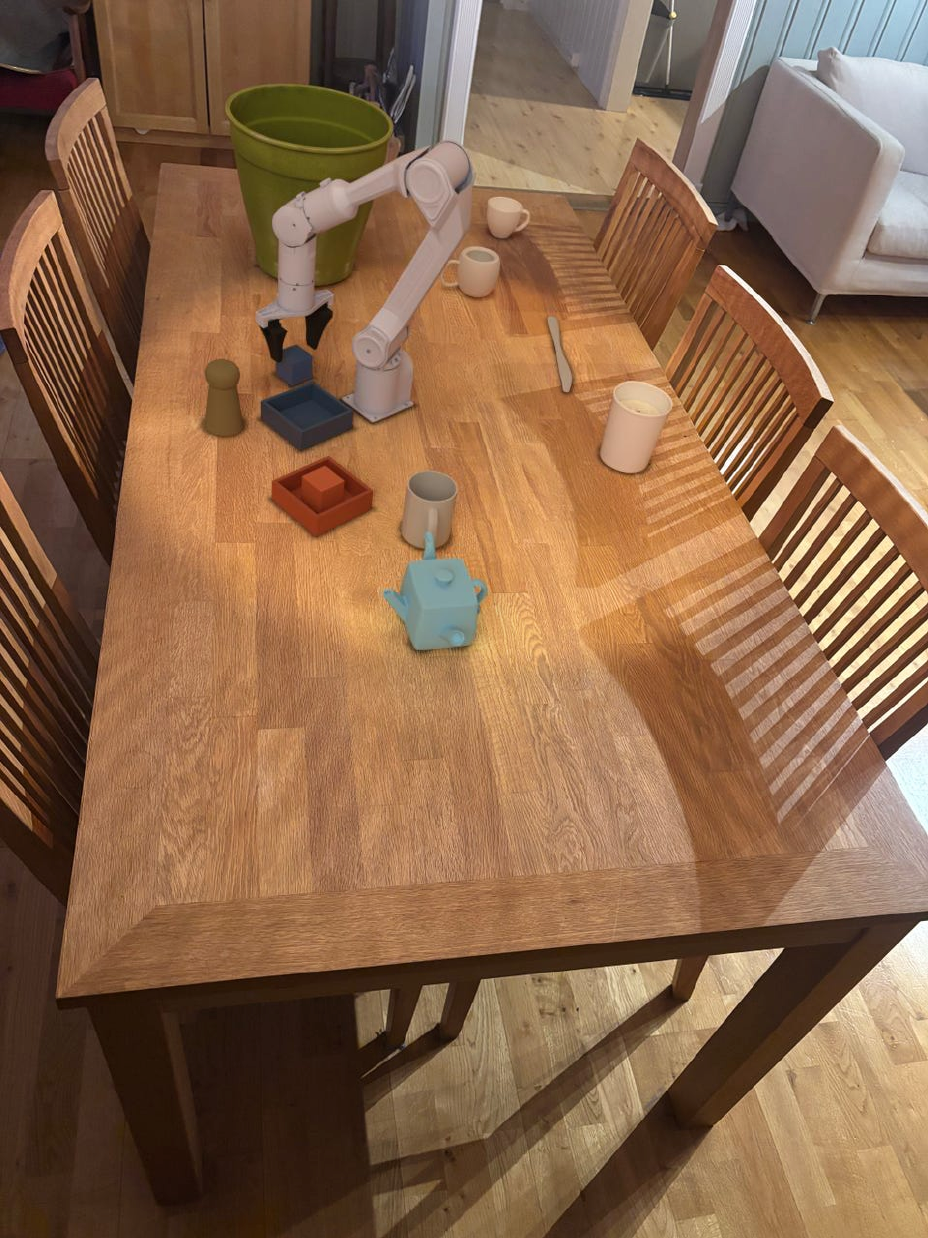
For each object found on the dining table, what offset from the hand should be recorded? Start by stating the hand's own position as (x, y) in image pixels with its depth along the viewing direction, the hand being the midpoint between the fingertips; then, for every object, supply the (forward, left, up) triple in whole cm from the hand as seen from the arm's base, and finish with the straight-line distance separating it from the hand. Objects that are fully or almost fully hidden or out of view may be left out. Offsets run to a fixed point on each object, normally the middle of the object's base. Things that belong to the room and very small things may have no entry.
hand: (294, 353), depth 163 cm
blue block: (0, 0, -5) cm, 5 cm away
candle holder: (-31, +49, -5) cm, 58 cm away
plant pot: (-27, -30, -5) cm, 41 cm away
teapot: (+23, +57, -5) cm, 62 cm away
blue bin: (+7, +12, -5) cm, 15 cm away
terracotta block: (+18, +29, -4) cm, 34 cm away
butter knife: (-47, +21, -5) cm, 52 cm away
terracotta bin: (+18, +29, -5) cm, 34 cm away
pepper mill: (+18, +5, -5) cm, 19 cm away
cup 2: (-76, -20, -5) cm, 79 cm away
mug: (-49, -6, -5) cm, 50 cm away
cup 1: (+11, +44, -5) cm, 46 cm away
